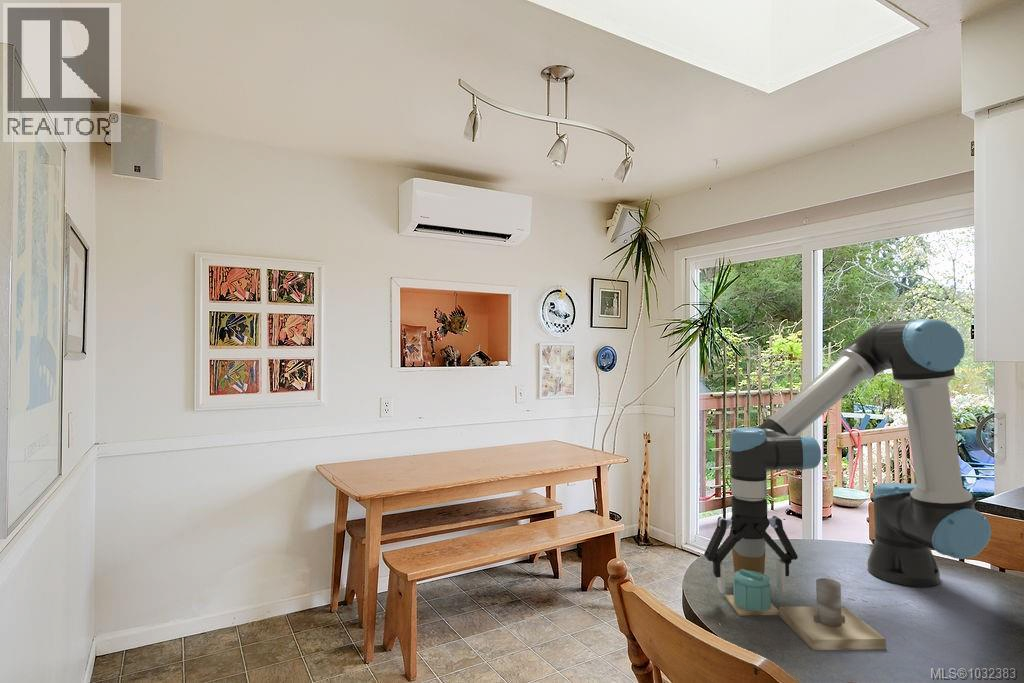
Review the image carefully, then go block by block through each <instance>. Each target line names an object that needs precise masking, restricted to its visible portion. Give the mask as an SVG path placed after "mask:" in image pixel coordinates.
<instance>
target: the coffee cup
mask: <svg viewBox="0 0 1024 683" xmlns="http://www.w3.org/2000/svg"><path fill="white" fill-rule="evenodd" d="M729 527H730V531H729V533H730V532H731V531H732V529H733V527H732V525H730V526H729ZM731 551H732V562H733V563H732V564H733V572H734V573H735V572H737V571H740V570H741V569H745V570H748V571H755V572H759V573H762V574H764V575H765V570H766V569H765V566H766V565H765V564H766V541H765V540H764V539H763V538H762V537H760V538H759V539H753V538H751V539H744V538H742V539H741V540H740V541H739V542H737V543H736V544H735V546H734V547H733V548H732V549H731Z"/></svg>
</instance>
